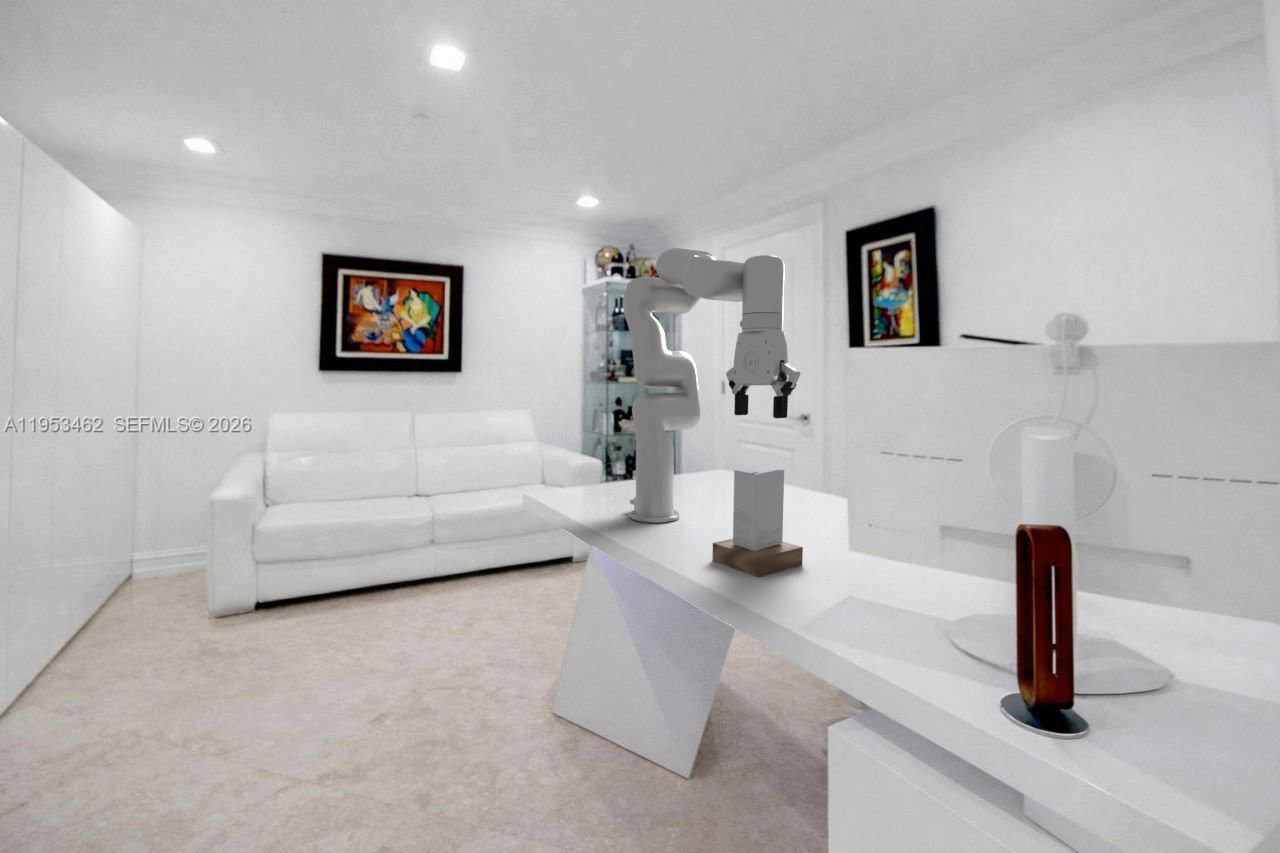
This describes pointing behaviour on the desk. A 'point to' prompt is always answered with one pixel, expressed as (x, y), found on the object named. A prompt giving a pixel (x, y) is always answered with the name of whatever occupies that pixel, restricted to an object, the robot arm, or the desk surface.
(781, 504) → the skincare box
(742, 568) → the walnut block
